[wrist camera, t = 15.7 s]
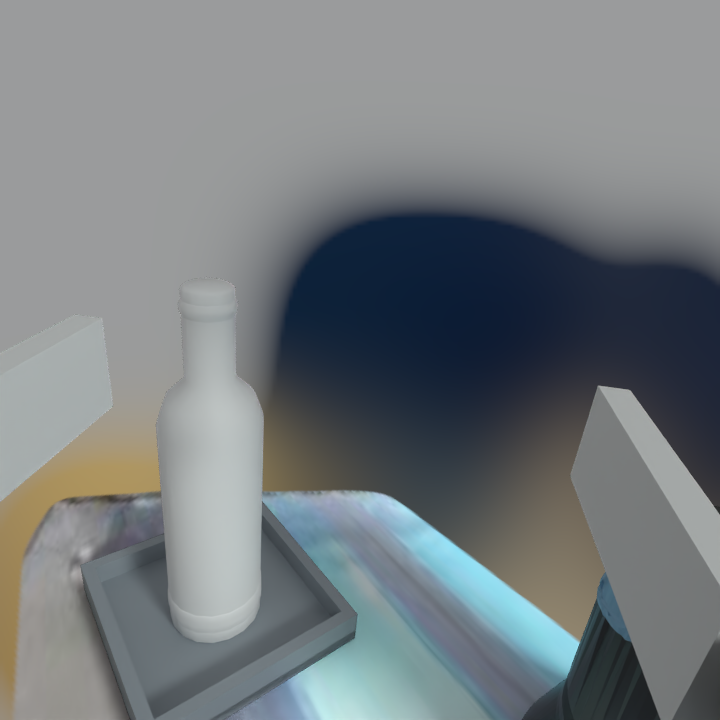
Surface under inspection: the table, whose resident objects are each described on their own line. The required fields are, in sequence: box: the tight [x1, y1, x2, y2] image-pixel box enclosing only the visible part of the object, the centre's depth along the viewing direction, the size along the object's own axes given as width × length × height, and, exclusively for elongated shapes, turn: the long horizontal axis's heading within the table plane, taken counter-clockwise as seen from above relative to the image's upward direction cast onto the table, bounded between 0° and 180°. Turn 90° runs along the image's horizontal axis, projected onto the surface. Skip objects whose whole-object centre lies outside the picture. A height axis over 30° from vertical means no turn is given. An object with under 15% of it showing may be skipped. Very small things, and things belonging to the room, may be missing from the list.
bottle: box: [156, 278, 264, 643], centre depth 41 cm, size 8×8×30 cm
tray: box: [80, 502, 358, 720], centre depth 47 cm, size 18×18×3 cm
